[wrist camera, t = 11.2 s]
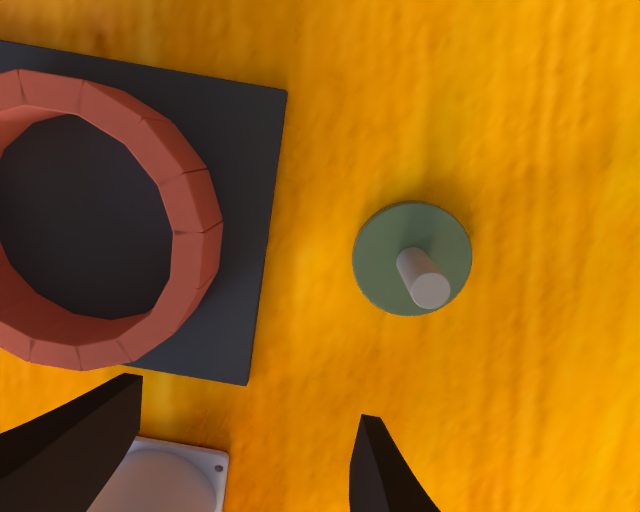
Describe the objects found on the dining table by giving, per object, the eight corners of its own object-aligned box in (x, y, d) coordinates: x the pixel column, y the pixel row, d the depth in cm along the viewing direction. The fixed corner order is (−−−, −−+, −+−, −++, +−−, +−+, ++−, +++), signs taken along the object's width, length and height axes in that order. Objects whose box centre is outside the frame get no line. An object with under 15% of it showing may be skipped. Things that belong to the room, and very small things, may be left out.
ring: (209, 359, 22) (190, 391, 19) (-26, 318, 22) (-80, 344, 19) (235, 109, 19) (216, 102, 16) (-45, 60, 19) (-117, 44, 16)
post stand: (451, 319, 22) (483, 368, 17) (342, 300, 22) (344, 344, 17) (481, 211, 20) (526, 232, 15) (364, 191, 20) (372, 205, 15)
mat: (248, 381, 23) (246, 387, 23) (-38, 331, 23) (-48, 335, 22) (288, 91, 19) (286, 90, 18) (-63, 30, 19) (-76, 26, 18)
